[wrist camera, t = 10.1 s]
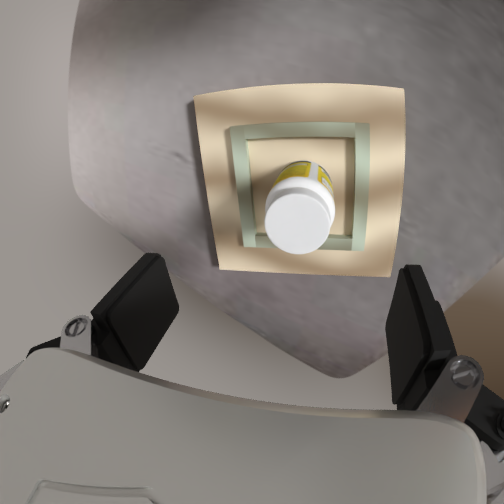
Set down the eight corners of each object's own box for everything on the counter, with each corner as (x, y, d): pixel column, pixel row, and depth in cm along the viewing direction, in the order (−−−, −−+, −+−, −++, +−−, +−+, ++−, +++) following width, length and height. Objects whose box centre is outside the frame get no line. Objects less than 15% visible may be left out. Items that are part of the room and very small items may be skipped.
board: (200, 96, 22) (189, 96, 21) (399, 89, 18) (406, 88, 16) (224, 262, 31) (217, 273, 29) (387, 268, 27) (391, 281, 25)
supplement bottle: (270, 197, 25) (246, 240, 17) (289, 150, 22) (273, 173, 15) (318, 219, 24) (315, 271, 17) (341, 174, 22) (350, 209, 15)
